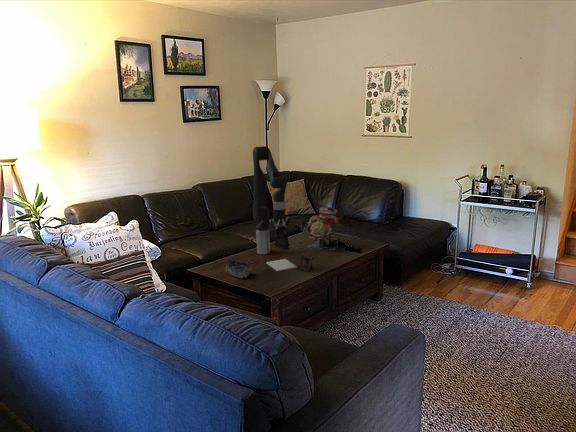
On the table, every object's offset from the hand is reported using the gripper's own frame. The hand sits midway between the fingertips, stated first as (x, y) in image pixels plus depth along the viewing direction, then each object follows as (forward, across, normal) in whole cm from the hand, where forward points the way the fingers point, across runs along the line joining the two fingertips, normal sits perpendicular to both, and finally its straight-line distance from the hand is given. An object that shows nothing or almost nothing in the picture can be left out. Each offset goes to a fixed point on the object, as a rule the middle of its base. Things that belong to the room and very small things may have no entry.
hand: (280, 233), depth 298 cm
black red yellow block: (+10, 0, 0) cm, 10 cm away
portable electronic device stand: (+22, -11, +14) cm, 28 cm away
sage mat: (+21, 0, 0) cm, 21 cm away
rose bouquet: (+22, -44, -22) cm, 54 cm away
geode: (+22, +31, +2) cm, 38 cm away
